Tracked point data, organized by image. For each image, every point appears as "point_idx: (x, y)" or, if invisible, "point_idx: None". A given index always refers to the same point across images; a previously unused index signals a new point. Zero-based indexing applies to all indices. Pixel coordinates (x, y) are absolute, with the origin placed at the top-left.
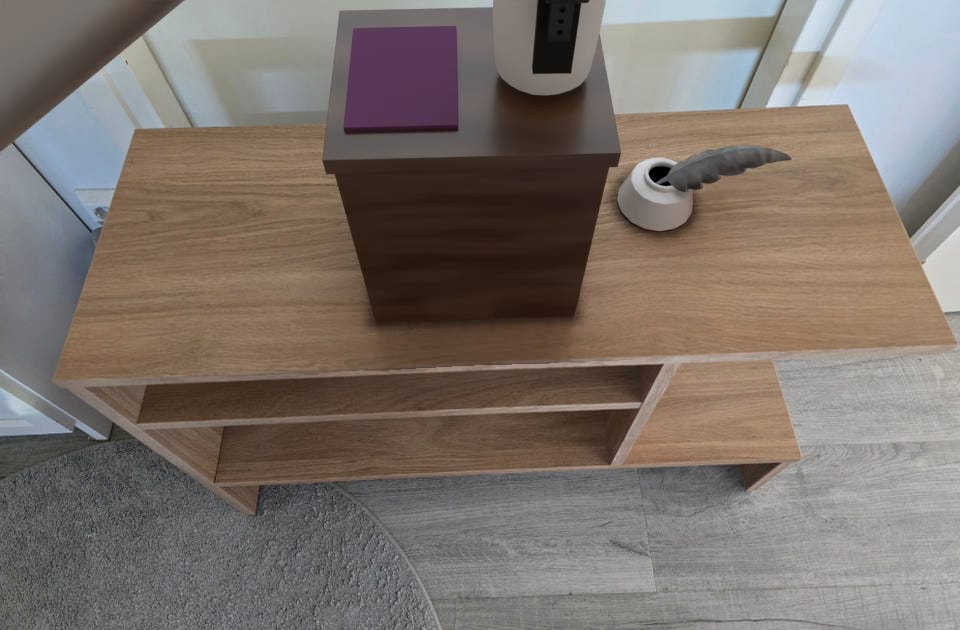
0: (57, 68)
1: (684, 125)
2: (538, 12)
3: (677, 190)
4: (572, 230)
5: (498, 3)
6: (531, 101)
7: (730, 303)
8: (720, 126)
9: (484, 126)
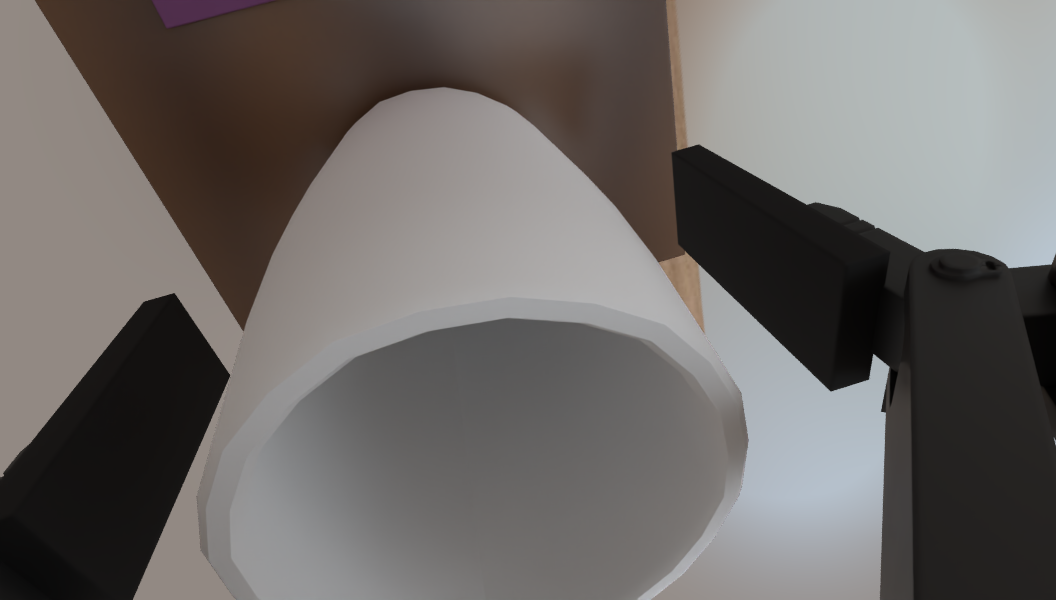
0: None
1: (688, 258)
2: (31, 446)
3: None
4: None
5: (333, 168)
6: None
7: None
8: (688, 297)
9: (215, 98)
